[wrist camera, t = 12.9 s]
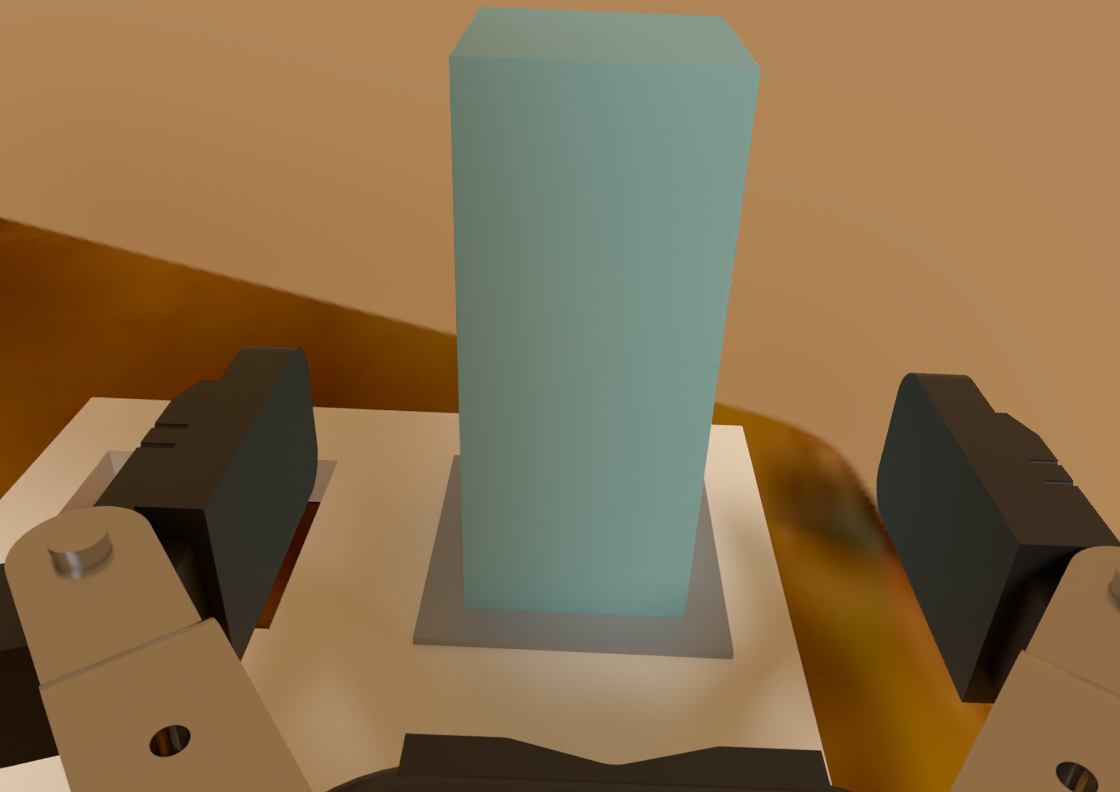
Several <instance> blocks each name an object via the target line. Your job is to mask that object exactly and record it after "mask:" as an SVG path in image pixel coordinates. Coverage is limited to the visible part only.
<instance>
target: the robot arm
mask: <svg viewBox="0 0 1120 792" xmlns="http://www.w3.org/2000/svg"><path fill="white" fill-rule="evenodd" d="M140 443H141V446H140V447H137V448H136V449H135V450H134V452H133V453H132V454H131V456H130V457H129V458H128V460H127V461H126V463H125V464H124V465H123V467H122V468H121V469H120V471H119V472H118V473H117V475H116V476H115V477H114V479H113V480H112V481H111V483H110V484H109V486H108V487H107V488H106V490H105V491H104V492H103V494H102V495H101V496H100V498H99V499H98V500H97V502H96V503H95V504H94V506H93V507H88V508H82V509H77V510H73V511H70V512H66V513H63V514H60V515H58V516H55V517H53V518H50V519H48V520H46V521H44V522H42V523H40V524H39V525H37V526H35V527H34V528H32V529H31V530H29V531H28V532H27V533H25V534H24V535H23V536H22V537H21V538H20V539H18V540H17V541H16V542H15V544H14V545H13V546H12V548H11V549H10V550H9V552H8V554H7V557H6V560H5V563H2V564H0V769H1V768H6V767H10V766H15V765H19V764H24V763H28V762H32V761H37V760H41V759H46V758H50V757H54V756H59V755H60V758H61V762H62V765H63V768H64V771H65V775H66V778H67V781H68V784H69V787H70V791H71V792H313V791H312V790H311V788H310V786H309V784H308V783H307V781H306V779H305V777H304V775H303V774H302V772H301V770H300V768H299V766H298V765H297V763H296V761H295V759H294V757H293V756H292V754H291V752H290V750H289V748H288V747H287V745H286V743H285V741H284V739H283V738H282V736H281V734H280V732H279V730H278V729H277V727H276V725H275V723H274V721H273V720H272V718H271V716H270V714H269V712H268V711H267V709H266V707H265V705H264V703H263V702H262V700H261V698H260V696H259V694H258V693H257V691H256V689H255V687H254V685H253V684H252V682H251V680H250V678H249V676H248V675H247V673H246V671H245V669H244V667H243V666H242V664H241V660H242V658H243V656H244V653H245V651H246V648H247V646H248V644H249V641H250V639H251V637H252V634H253V632H254V629H255V627H256V625H257V622H258V620H259V617H260V615H261V613H262V610H263V608H264V606H265V603H266V601H267V598H268V596H269V594H270V591H271V589H272V587H273V584H274V582H275V579H276V577H277V575H278V572H279V570H280V568H281V565H282V563H283V560H284V558H285V556H286V553H287V551H288V549H289V546H290V544H291V541H292V539H293V537H294V534H295V532H296V530H297V527H298V525H299V522H300V520H301V518H302V515H303V513H304V510H305V508H306V506H307V503H308V501H309V499H310V496H311V494H312V491H313V488H314V485H315V480H316V475H317V466H318V446H317V437H316V429H315V421H314V412H313V404H312V396H311V388H310V380H309V372H308V365H307V360H306V356H305V353H304V352H303V350H302V349H301V348H292V347H267V346H244V347H242V348H241V349H240V350H239V352H238V353H237V355H236V356H235V358H234V359H233V361H232V362H231V364H230V365H229V367H228V368H227V370H226V371H225V373H224V374H223V376H222V377H221V378H220V380H219V381H211V380H202V381H200V382H199V383H197V384H196V385H194V386H193V387H191V388H190V389H188V390H186V391H185V392H183V393H182V394H180V395H179V396H177V397H176V398H174V399H172V400H171V402H170V403H169V404H168V406H167V407H166V408H165V410H164V411H163V413H162V414H161V415H160V417H159V418H158V419H157V421H156V422H155V427H154V428H151V429H150V430H149V431H148V433H147V434H146V436H145V437H144V438H143V440H142V441H141V442H140ZM1057 462H1058V460H1057V459H1056V457H1055V456H1054V455H1053V453H1052V452H1051V451H1050V450H1049V448H1048V447H1047V446H1046V444H1045V443H1044V442H1043V440H1042V439H1041V438H1040V436H1039V435H1037V434H1036V433H1035V432H1033V431H1031V430H1030V429H1029V428H1027V427H1026V426H1024V425H1023V424H1022V423H1020V422H1019V421H1017V420H1016V419H1014V418H1013V417H1011V416H1010V415H1008V414H1007V413H995V411H994V410H993V409H992V407H991V406H990V404H989V403H988V402H987V400H986V399H985V398H984V396H983V395H982V393H981V392H980V390H979V389H978V388H977V386H976V385H975V383H974V382H973V381H972V379H971V378H970V377H968V376H966V375H951V374H925V373H909V374H907V375H906V376H905V377H904V378H903V380H902V382H901V384H900V386H899V390H898V393H897V397H896V401H895V405H894V409H893V413H892V417H891V421H890V425H889V429H888V433H887V437H886V441H885V445H884V449H883V453H882V457H881V461H880V464H879V469H878V475H877V502H878V508H879V512H880V515H881V517H882V520H883V522H884V524H885V527H886V529H887V531H888V533H889V536H890V538H891V540H892V543H893V545H894V547H895V550H896V552H897V554H898V556H899V559H900V561H901V563H902V566H903V568H904V570H905V573H906V575H907V577H908V579H909V582H910V584H911V586H912V589H913V591H914V593H915V596H916V598H917V600H918V602H919V605H920V607H921V609H922V612H923V614H924V616H925V619H926V621H927V623H928V625H929V628H930V630H931V632H932V635H933V637H934V639H935V642H936V644H937V646H938V648H939V651H940V653H941V655H942V658H943V660H944V662H945V665H946V667H947V669H948V671H949V674H950V676H951V678H952V681H953V683H954V685H955V688H956V690H957V692H958V694H959V697H960V699H961V701H962V702H968V703H993V704H994V705H993V707H992V709H991V711H990V713H989V715H988V717H987V719H986V721H985V723H984V725H983V727H982V729H981V731H980V733H979V735H978V737H977V739H976V741H975V743H974V745H973V747H972V749H971V751H970V753H969V755H968V757H967V759H966V761H965V763H964V765H963V767H962V769H961V771H960V773H959V775H958V777H957V779H956V781H955V783H954V785H953V787H952V789H951V790H950V792H1120V542H1119V541H1118V539H1117V538H1116V537H1115V536H1114V534H1113V533H1112V531H1111V530H1110V529H1109V527H1108V526H1107V525H1106V524H1105V522H1104V521H1103V519H1102V518H1101V517H1100V516H1099V514H1098V513H1097V512H1096V510H1095V509H1094V508H1093V506H1092V505H1091V504H1090V502H1089V501H1088V500H1087V498H1086V497H1085V496H1084V494H1083V493H1082V492H1081V490H1080V489H1079V488H1078V486H1073V480H1072V479H1071V477H1070V476H1069V475H1068V473H1067V472H1066V471H1065V469H1064V468H1063V467H1062V466H1061V465H1058V464H1057ZM326 792H850V791H848V790H845V789H842V788H839V787H835V786H832V785H830V782H829V778H828V774H827V770H826V766H825V762H824V758H823V755H822V751H821V750H800V749H775V748H751V747H727V746H717V747H712V748H707V749H702V750H696V751H691V752H686V753H680V754H675V755H670V756H664V757H659V758H654V759H649V760H643V761H638V762H633V763H627V764H620V765H612V764H605V763H601V762H597V761H593V760H589V759H586V758H582V757H578V756H575V755H571V754H567V753H563V752H560V751H556V750H552V749H549V748H545V747H541V746H537V745H534V744H530V743H526V742H522V741H519V740H515V739H511V738H508V737H484V736H459V735H435V734H411V733H405V738H404V743H403V748H402V753H401V758H400V763H399V766H398V767H393V768H388V769H384V770H380V771H377V772H373V773H370V774H367V775H363V776H360V777H357V778H355V779H352V780H350V781H348V782H345V783H343V784H340V785H338V786H336V787H333V788H332V789H330V790H328V791H326Z"/></svg>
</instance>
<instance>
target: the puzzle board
mask: <svg viewBox="0 0 1120 792" xmlns="http://www.w3.org/2000/svg"><path fill="white" fill-rule="evenodd" d="M170 402H171V401H167V400H144V399H122V398H99V397H92V398H91V399H90V400H89V401H88V402H87V403H86V404H85V406H84V407H83V408H82V409H81V410H80V411H79V412H78V413H77V415H76V416H75V417H74V418H73V419H72V420H71V421H70V422H69V423H68V425H67V426H66V427H65V428H64V429H63V430H62V431H61V432H60V434H59V435H58V436H57V437H56V438H55V439H54V440H53V441H52V443H51V444H50V445H49V446H48V447H47V448H46V449H45V450H44V451H43V453H42V454H41V455H40V456H39V457H38V458H37V459H36V460H35V462H34V463H33V464H32V465H31V466H30V467H29V468H28V469H27V471H26V472H25V473H24V474H23V475H22V476H21V477H20V478H19V479H18V481H17V482H16V483H15V484H14V485H13V486H12V487H11V488H10V490H9V491H8V492H7V493H6V494H5V495H4V496H3V497H2V498H1V500H0V564H2V563H5V560H6V557H7V554H8V552H9V550H10V549H11V548H12V546H13V545H14V544H15V542H16V541H17V540H18V539H20V538H21V537H22V536H23V535H24V534H25V533H27V532H28V531H29V530H31V529H32V528H34V527H35V526H37V525H39V524H40V523H42V522H44V521H46V520H48V519H50V518H53V517H55V516H58V515H60V514H63V513H66V512H70V511H73V510H77V509H82V508H88V507H93V506H94V504H95V503H96V502H97V500H98V499H99V498H100V496H101V495H102V494H103V492H104V491H105V490H106V488H107V487H108V486H109V484H110V483H111V481H112V480H113V479H114V477H115V476H116V475H117V473H118V472H119V471H120V469H121V468H122V467H123V465H124V464H125V463H126V461H127V460H128V458H129V457H130V456H131V454H132V453H133V452H134V450H135V449H136V448H137V447H140V446H141V443H140V442H141V441H142V440H143V438H144V437H145V436H146V434H147V433H148V431H149V430H150V429H151V428H154V427H155V422H156V421H157V419H158V418H159V417H160V415H161V414H162V413H163V411H164V410H165V408H166V407H167V406H168V404H169V403H170ZM313 412H314V421H315V429H316V437H317V446H318V466H317V475H316V480H315V485H314V488H313V491H312V494H311V496H310V499H309V501H310V502H321V503H320V506H319V508H318V511H317V513H316V516H315V518H314V520H313V523H312V525H311V528H310V530H309V533H308V535H307V538H306V540H305V542H304V545H303V547H302V550H301V552H300V555H299V557H298V560H297V562H296V564H295V567H294V569H293V572H292V574H291V577H290V579H289V582H288V584H287V586H286V589H285V591H284V594H283V596H282V599H281V601H280V603H279V606H278V608H277V611H276V613H275V616H274V618H273V621H272V623H271V625H270V628H269V629H258V628H255V629H254V632H253V634H252V637H251V639H250V641H249V644H248V646H247V648H246V651H245V653H244V656H243V658H242V660H241V664H242V666H243V667H244V669H245V671H246V673H247V675H248V676H249V678H250V680H251V682H252V684H253V685H254V687H255V689H256V691H257V693H258V694H259V696H260V698H261V700H262V702H263V703H264V705H265V707H266V709H267V711H268V712H269V714H270V716H271V718H272V720H273V721H274V723H275V725H276V727H277V729H278V730H279V732H280V734H281V736H282V738H283V739H284V741H285V743H286V745H287V747H288V748H289V750H290V752H291V754H292V756H293V757H294V759H295V761H296V763H297V765H298V766H299V768H300V770H301V772H302V774H303V775H304V777H305V779H306V781H307V783H308V784H309V786H310V788H311V790H312V791H313V792H326V791H328V790H330V789H332V788H333V787H336V786H338V785H340V784H343V783H345V782H348V781H350V780H352V779H355V778H357V777H360V776H363V775H367V774H370V773H373V772H377V771H380V770H384V769H388V768H393V767H398V766H399V763H400V758H401V753H402V748H403V743H404V738H405V733H411V734H435V735H459V736H484V737H508V738H511V739H515V740H519V741H522V742H526V743H530V744H534V745H537V746H541V747H545V748H549V749H552V750H556V751H560V752H563V753H567V754H571V755H575V756H578V757H582V758H586V759H589V760H593V761H597V762H601V763H605V764H612V765H620V764H627V763H633V762H638V761H643V760H649V759H654V758H659V757H664V756H670V755H675V754H680V753H686V752H691V751H696V750H702V749H707V748H712V747H717V746H727V747H751V748H775V749H800V750H821V751H822V755H823V758H824V762H825V766H826V770H827V774H828V778H829V782H830V785H832V783H831V779H830V775H829V771H828V767H827V763H826V759H825V755H824V751H823V747H822V743H821V739H820V735H819V731H818V727H817V723H816V719H815V715H814V711H813V707H812V703H811V699H810V695H809V691H808V687H807V683H806V679H805V675H804V671H803V667H802V663H801V659H800V655H799V651H798V647H797V643H796V639H795V635H794V631H793V627H792V623H791V619H790V615H789V611H788V607H787V603H786V599H785V595H784V591H783V587H782V583H781V579H780V575H779V571H778V567H777V563H776V559H775V555H774V551H773V547H772V543H771V539H770V535H769V531H768V527H767V523H766V519H765V515H764V511H763V507H762V503H761V499H760V495H759V491H758V487H757V483H756V479H755V475H754V471H753V467H752V463H751V459H750V455H749V451H748V447H747V443H746V439H745V435H744V431H743V427H742V426H728V425H711V430H710V438H709V445H708V452H707V459H706V466H705V474H704V481H703V488H702V495H701V502H700V510H699V517H698V524H697V531H696V538H695V546H694V553H693V560H692V567H691V574H690V582H689V589H688V596H687V603H686V610H685V617H684V618H682V617H660V616H637V615H614V614H592V613H569V612H547V611H524V610H502V609H479V608H464V577H463V541H462V505H461V468H460V432H459V413H436V412H414V411H391V410H369V409H346V408H324V407H313ZM0 792H71V791H70V787H69V784H68V781H67V778H66V775H65V771H64V768H63V765H62V762H61V758H60V755H59V756H54V757H50V758H46V759H41V760H37V761H32V762H28V763H24V764H19V765H15V766H10V767H6V768H1V769H0Z"/></svg>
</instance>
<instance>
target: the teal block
mask: <svg viewBox="0 0 1120 792" xmlns="http://www.w3.org/2000/svg"><path fill="white" fill-rule="evenodd" d="M449 65H450V67H449V69H450V105H451V139H452V140H451V141H452V176H453V210H454V211H453V213H454V248H455V249H454V250H455V287H456V323H457V359H458V396H459V432H460V468H461V505H462V541H463V577H464V608H479V609H502V610H524V611H547V612H569V613H592V614H614V615H637V616H660V617H682V618H684V617H685V610H686V603H687V596H688V589H689V582H690V574H691V567H692V560H693V553H694V546H695V538H696V531H697V524H698V517H699V510H700V502H701V495H702V488H703V481H704V474H705V466H706V459H707V452H708V445H709V438H710V430H711V423H712V416H713V409H714V402H715V394H716V387H717V379H718V373H719V365H720V358H721V351H722V344H723V337H724V329H725V323H726V315H727V308H728V301H729V294H730V287H731V279H732V272H733V265H734V258H735V251H736V243H737V236H738V229H739V222H740V214H741V206H742V200H743V192H744V186H745V178H746V171H747V164H748V157H749V150H750V143H751V135H752V128H753V121H754V114H755V106H756V100H757V92H758V85H759V78H760V70H761V68H760V67H759V66H758V64H757V63H756V62H755V60H754V59H753V57H752V56H751V55H750V53H749V52H748V51H747V49H746V48H745V46H744V45H743V44H742V42H741V41H740V40H739V38H738V37H737V35H736V34H735V33H734V31H733V30H732V29H731V27H730V26H729V24H728V23H727V22H726V20H725V19H724V18H723V17H721V16H694V15H671V14H670V15H669V14H645V13H644V14H643V13H620V12H594V11H570V10H544V9H518V8H492V7H481V8H480V9H479V11H478V12H477V13H476V15H475V17H474V18H473V20H472V22H471V23H470V24H469V26H468V28H467V29H466V31H465V32H464V34H463V36H462V37H461V39H460V40H459V42H458V43H457V45H456V47H455V48H454V49H453V51H452V53H451V54H450V56H449Z"/></svg>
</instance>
